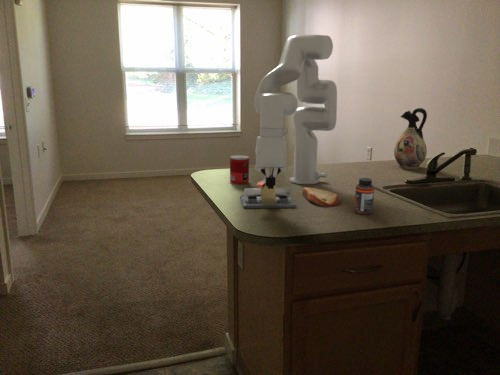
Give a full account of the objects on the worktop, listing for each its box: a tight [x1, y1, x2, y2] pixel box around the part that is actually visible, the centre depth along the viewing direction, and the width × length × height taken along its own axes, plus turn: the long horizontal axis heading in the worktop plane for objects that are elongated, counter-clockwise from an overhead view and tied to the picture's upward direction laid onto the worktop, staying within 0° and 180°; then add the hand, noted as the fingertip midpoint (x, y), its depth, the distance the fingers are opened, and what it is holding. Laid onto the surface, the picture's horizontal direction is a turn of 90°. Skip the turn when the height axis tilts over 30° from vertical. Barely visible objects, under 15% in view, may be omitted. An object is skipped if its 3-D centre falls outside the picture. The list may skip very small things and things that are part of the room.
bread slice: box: [301, 186, 341, 208], centre depth 163 cm, size 18×18×4 cm
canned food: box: [229, 154, 250, 185], centre depth 186 cm, size 8×8×11 cm
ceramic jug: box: [393, 107, 428, 170], centre depth 221 cm, size 17×15×30 cm
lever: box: [255, 176, 266, 189], centre depth 151 cm, size 13×3×1 cm, turn 164°
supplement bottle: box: [353, 177, 375, 215], centre depth 146 cm, size 6×6×11 cm
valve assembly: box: [239, 184, 297, 209], centre depth 157 cm, size 18×14×8 cm
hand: (270, 188), depth 147 cm, fingers closed
